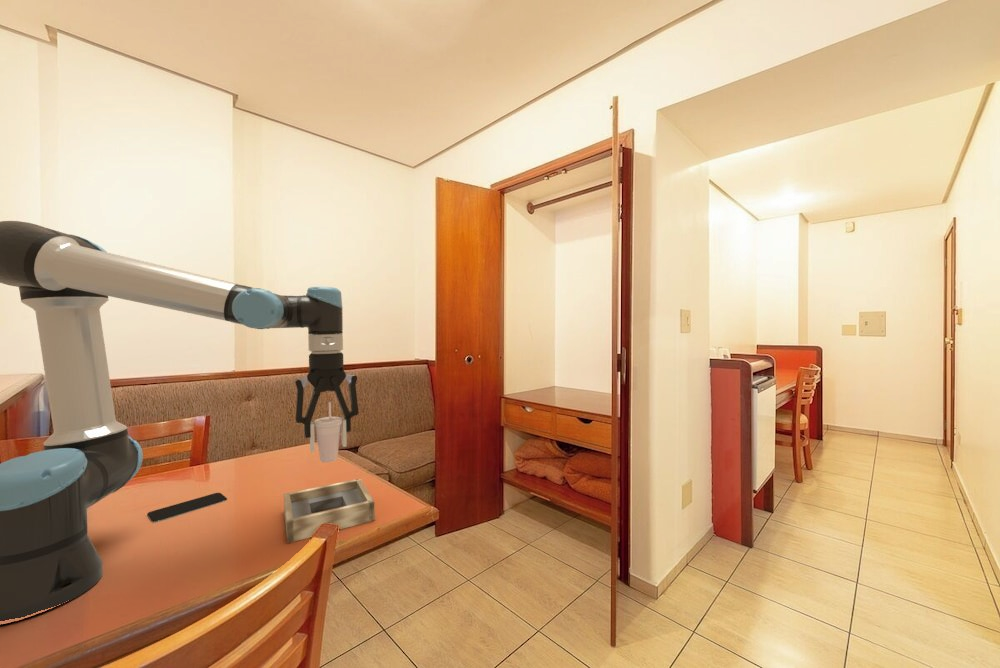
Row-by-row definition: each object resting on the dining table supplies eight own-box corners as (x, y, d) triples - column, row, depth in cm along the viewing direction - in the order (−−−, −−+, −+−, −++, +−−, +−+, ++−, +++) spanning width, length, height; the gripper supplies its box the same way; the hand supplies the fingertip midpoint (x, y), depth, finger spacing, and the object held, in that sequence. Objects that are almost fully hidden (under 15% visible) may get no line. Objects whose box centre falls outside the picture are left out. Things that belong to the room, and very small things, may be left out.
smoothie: (334, 464, 88) (333, 404, 88) (308, 464, 89) (306, 404, 88) (348, 455, 94) (347, 399, 94) (323, 454, 95) (322, 399, 95)
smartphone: (228, 499, 101) (152, 522, 89) (228, 501, 101) (152, 525, 89) (219, 491, 105) (146, 512, 93) (219, 494, 105) (146, 515, 93)
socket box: (287, 543, 80) (286, 522, 80) (284, 512, 94) (283, 494, 94) (374, 520, 90) (374, 501, 90) (360, 494, 103) (360, 478, 103)
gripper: (280, 355, 83) (283, 460, 83) (371, 351, 93) (373, 444, 93) (279, 353, 89) (281, 450, 90) (364, 349, 99) (366, 437, 100)
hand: (328, 447), depth 91 cm, fingers closed on smoothie, 6 cm apart
